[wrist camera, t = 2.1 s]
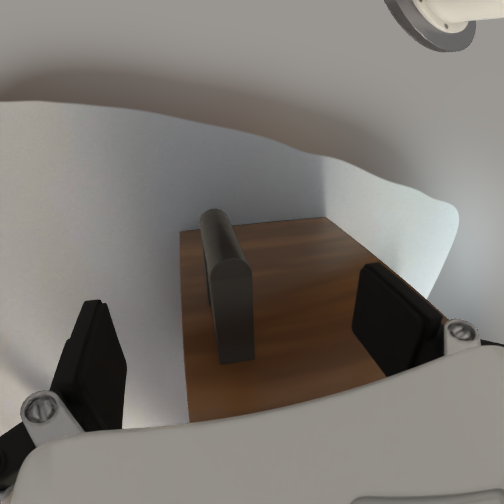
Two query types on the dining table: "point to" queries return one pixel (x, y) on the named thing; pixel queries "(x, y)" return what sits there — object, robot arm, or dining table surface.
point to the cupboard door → (270, 314)
